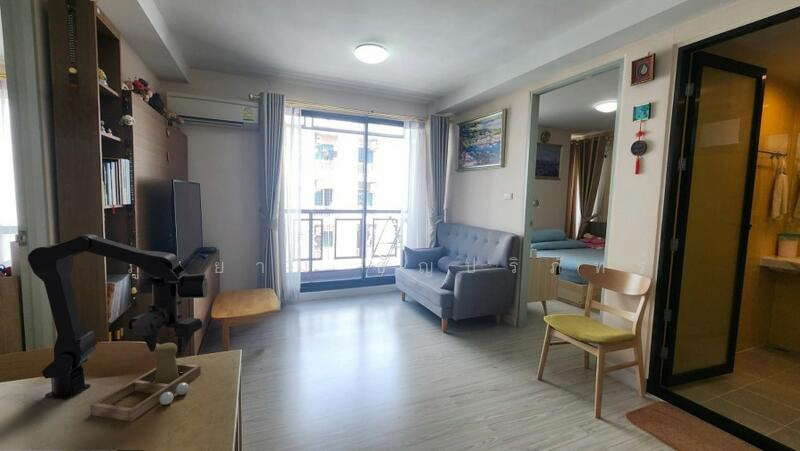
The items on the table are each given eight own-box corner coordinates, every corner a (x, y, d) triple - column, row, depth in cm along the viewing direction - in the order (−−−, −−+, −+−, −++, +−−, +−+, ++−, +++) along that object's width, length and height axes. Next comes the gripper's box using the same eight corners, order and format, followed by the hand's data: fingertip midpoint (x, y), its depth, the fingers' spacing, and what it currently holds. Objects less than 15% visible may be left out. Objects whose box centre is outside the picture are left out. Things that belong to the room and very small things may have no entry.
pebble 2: (172, 396, 91) (172, 385, 90) (181, 390, 94) (181, 379, 93) (182, 397, 90) (182, 387, 90) (191, 391, 93) (191, 381, 93)
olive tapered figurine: (166, 389, 94) (165, 350, 93) (148, 386, 95) (147, 348, 94) (184, 377, 100) (183, 341, 99) (167, 375, 101) (166, 339, 100)
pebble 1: (156, 406, 86) (156, 395, 86) (166, 399, 89) (166, 388, 89) (167, 408, 86) (166, 396, 86) (176, 401, 89) (176, 390, 89)
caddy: (90, 414, 82) (90, 404, 82) (166, 369, 104) (166, 361, 104) (131, 421, 81) (131, 411, 80) (200, 373, 102) (200, 365, 102)
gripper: (107, 305, 89) (110, 363, 90) (170, 311, 86) (172, 371, 87) (146, 293, 100) (147, 345, 101) (203, 298, 97) (204, 351, 98)
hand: (166, 353), depth 97 cm, fingers open, 9 cm apart
